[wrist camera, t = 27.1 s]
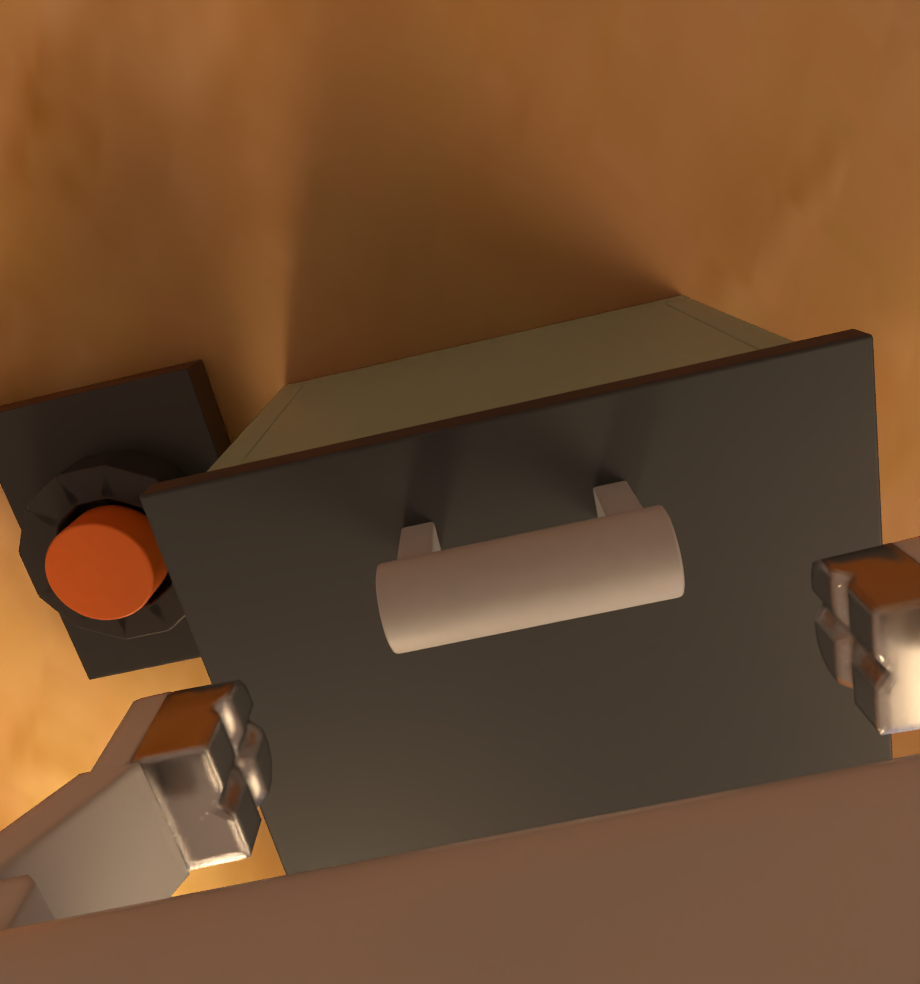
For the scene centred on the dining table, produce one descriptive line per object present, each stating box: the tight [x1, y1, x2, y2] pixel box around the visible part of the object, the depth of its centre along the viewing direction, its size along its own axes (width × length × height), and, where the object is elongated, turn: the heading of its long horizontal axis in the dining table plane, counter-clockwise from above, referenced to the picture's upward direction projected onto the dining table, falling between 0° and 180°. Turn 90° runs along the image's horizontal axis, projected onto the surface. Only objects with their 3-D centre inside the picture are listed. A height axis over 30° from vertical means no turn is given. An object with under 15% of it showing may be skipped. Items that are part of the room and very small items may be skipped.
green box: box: [207, 295, 793, 472], centre depth 25 cm, size 16×15×13 cm
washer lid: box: [140, 329, 892, 875], centre depth 17 cm, size 17×15×4 cm
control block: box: [0, 360, 231, 680], centre depth 29 cm, size 11×8×4 cm
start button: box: [45, 505, 168, 620], centre depth 27 cm, size 4×4×2 cm
